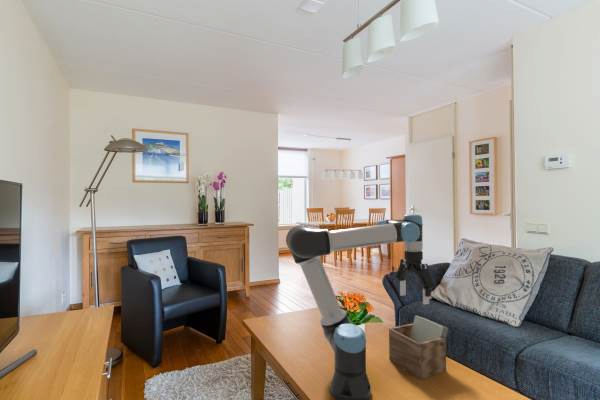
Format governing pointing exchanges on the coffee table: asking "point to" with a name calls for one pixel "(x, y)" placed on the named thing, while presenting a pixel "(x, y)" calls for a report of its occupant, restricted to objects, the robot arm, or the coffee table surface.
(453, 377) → the coffee table surface
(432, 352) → the brown wooden box
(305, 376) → the coffee table surface
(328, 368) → the coffee table surface
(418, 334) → the trapdoor
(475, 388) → the coffee table surface
